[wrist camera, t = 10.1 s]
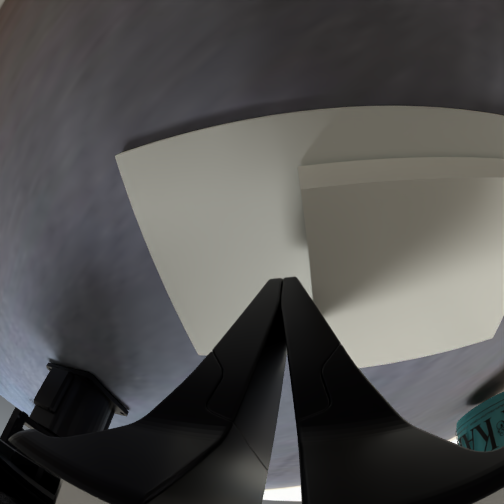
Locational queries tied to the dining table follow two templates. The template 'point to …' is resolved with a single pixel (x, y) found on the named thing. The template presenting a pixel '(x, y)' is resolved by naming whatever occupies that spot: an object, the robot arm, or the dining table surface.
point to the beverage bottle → (483, 426)
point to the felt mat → (266, 195)
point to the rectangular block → (406, 253)
